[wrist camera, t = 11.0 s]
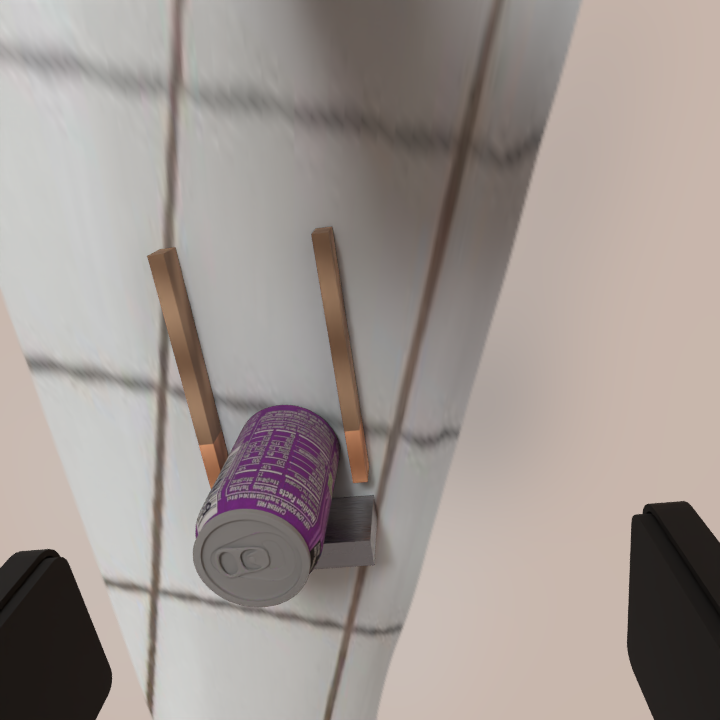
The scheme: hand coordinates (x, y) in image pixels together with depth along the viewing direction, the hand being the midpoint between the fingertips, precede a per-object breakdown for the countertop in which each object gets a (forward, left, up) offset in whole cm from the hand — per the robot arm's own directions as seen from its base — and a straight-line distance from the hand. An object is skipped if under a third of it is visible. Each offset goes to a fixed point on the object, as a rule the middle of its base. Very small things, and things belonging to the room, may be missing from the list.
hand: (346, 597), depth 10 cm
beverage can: (+13, -8, -28) cm, 32 cm away
